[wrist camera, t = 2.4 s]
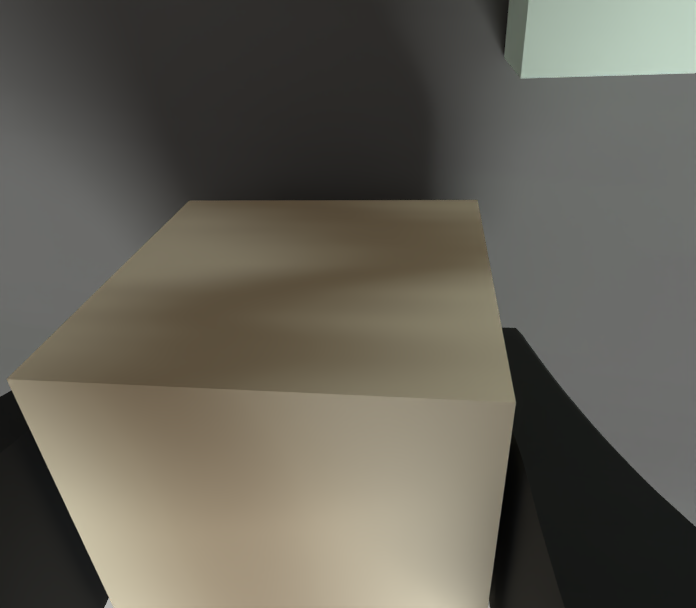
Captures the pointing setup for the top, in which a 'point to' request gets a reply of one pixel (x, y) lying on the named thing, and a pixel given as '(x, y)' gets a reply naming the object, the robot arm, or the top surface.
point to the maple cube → (285, 409)
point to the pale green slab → (600, 37)
